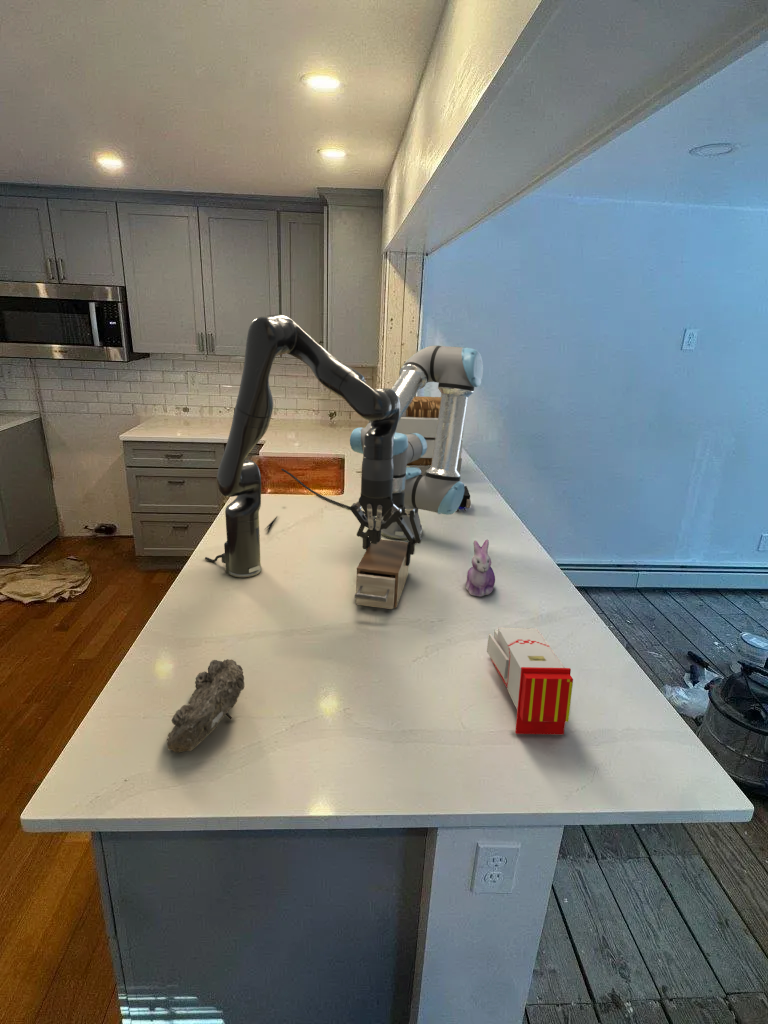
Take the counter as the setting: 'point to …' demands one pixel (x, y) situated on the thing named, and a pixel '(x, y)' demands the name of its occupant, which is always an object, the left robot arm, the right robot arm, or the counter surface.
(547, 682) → the toy
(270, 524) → the feather
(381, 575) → the drawer
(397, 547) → the cabinet
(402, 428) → the white boxy container
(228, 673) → the fossil
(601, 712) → the counter surface
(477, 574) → the figurine
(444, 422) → the right robot arm
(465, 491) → the figurine character
